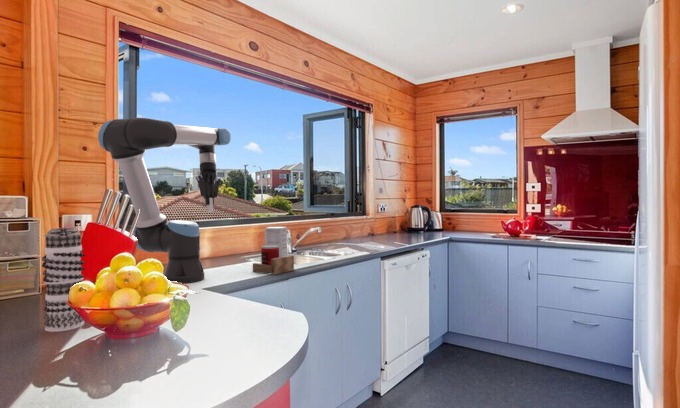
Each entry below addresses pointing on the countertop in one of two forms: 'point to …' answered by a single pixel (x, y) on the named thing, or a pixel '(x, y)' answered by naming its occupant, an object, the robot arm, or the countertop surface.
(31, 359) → the countertop surface
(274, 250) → the canned food
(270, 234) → the white canister
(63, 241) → the decorative candle
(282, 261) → the dock
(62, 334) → the countertop surface
